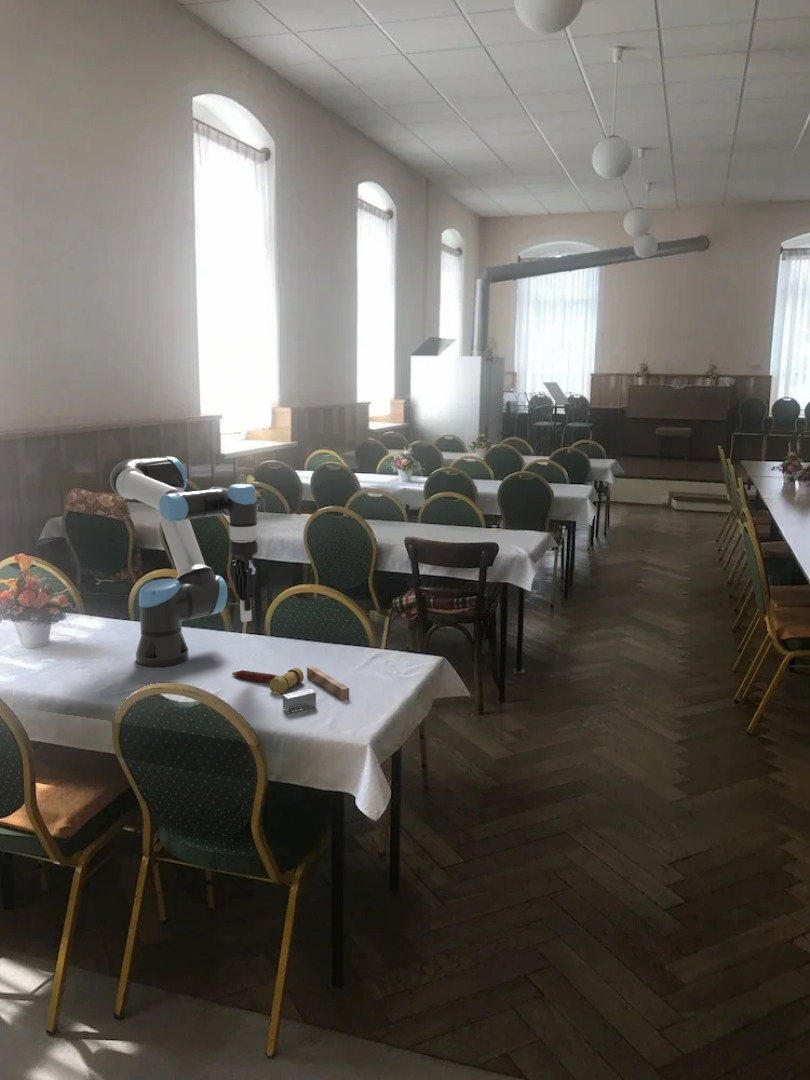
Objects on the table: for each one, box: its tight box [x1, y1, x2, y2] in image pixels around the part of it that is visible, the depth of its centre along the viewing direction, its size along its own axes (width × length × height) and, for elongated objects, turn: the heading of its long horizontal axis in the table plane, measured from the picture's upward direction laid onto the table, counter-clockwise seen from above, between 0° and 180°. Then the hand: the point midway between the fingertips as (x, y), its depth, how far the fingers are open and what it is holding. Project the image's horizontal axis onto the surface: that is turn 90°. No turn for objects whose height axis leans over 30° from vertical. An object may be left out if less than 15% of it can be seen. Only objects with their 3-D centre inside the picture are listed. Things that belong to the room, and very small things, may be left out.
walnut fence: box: [306, 665, 350, 701], centre depth 234 cm, size 20×2×3 cm, turn 35°
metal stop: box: [282, 688, 317, 713], centre depth 220 cm, size 3×8×4 cm, turn 124°
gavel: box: [232, 667, 305, 695], centre depth 238 cm, size 21×5×10 cm
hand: (246, 620), depth 243 cm, fingers closed
